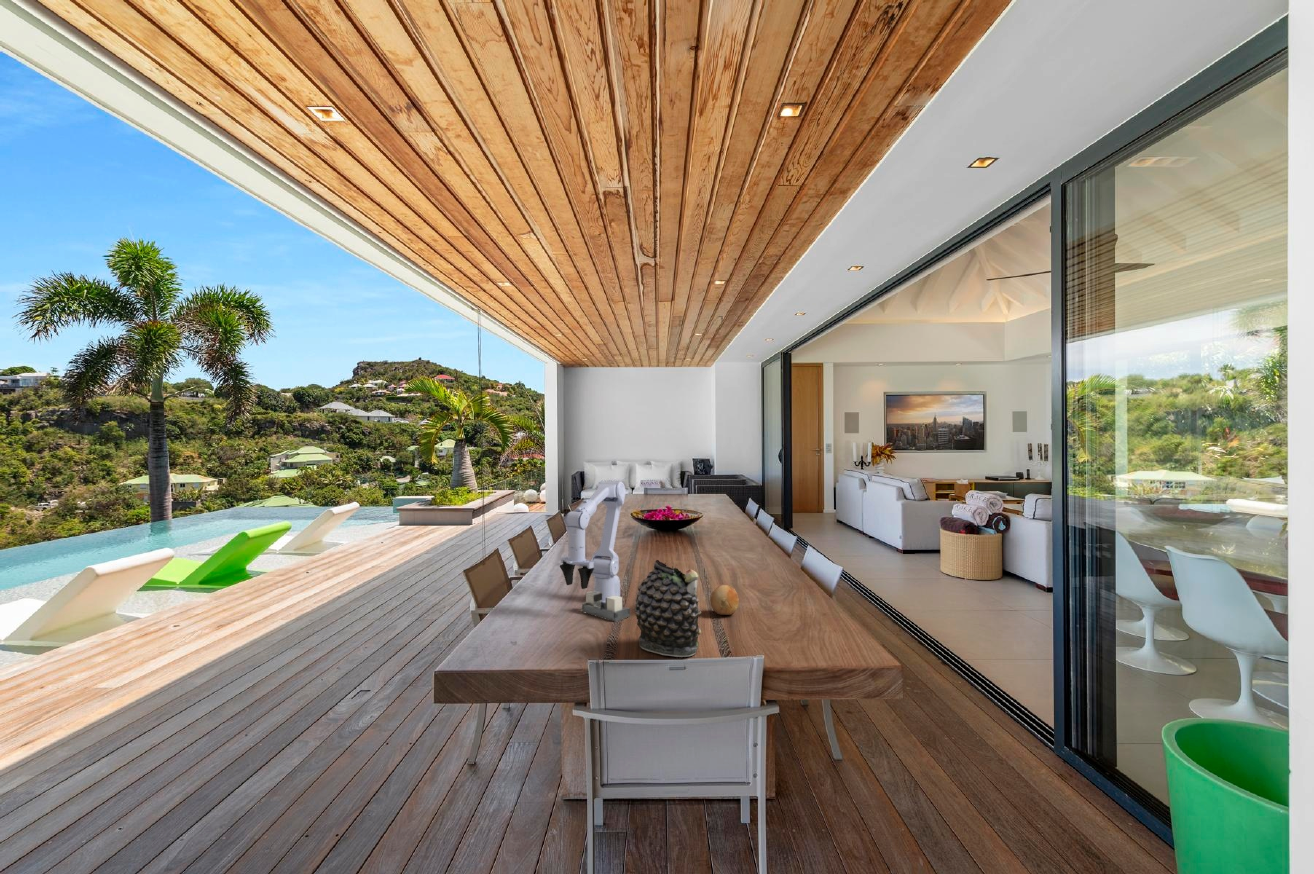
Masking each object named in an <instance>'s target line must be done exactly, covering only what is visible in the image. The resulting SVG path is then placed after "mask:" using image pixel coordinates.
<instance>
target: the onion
mask: <svg viewBox="0 0 1314 874" xmlns="http://www.w3.org/2000/svg"><path fill="white" fill-rule="evenodd" d="M709 601H710V602H709V603H710V607H711V608H712V610H713V611H714V612H715V613H716V614H718V615H719V614H720V616H721V615H722V616H731V615H732V614H734V613H736V612H737V610H738V608H739V605H740V598H739V594H738V592H737V591H736V589H735V588H734V587H732V586H731V585H727V584H721V585H718V586H717V587H716V588H715V589H713V591H712V592H711V596H710V600H709Z"/></svg>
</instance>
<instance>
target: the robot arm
mask: <svg viewBox="0 0 1314 874" xmlns="http://www.w3.org/2000/svg"><path fill="white" fill-rule="evenodd" d="M626 493H627V489H626V486H625V484H624V482H623V481H603V480H599V481H598V483H597V484H596V485H595V491H594V492H593V493H592V495H591V496H590V498H588V499H587V498H586V499H585V498H584V499H583V500H582V502H581V503H580V504H579V505H578V506H577V507H576V508H575V509H574V510H573V511H572V510H571V511H569V512H568V513H567V514H566V515H565V517H564V518H565V519H564V525H565V526H566V527H565V528H566V533H567V534H568V540H567V541H568V542H567V544H568V549H567V552H568V556H561V557H560V563H561V564H560V565H559V568H560V570H561V571H562V574H563V577H564V580H565V584H566V586H571V585H573V583H574V582H573V580H574V572H575V571H574V570H575V566H578V567H579V568H577V571H578V573H579V577H580V588H581V589H582V590H586V589H587V588H588V586H589V581H590V579H591V577H594V578H593V579H594V589H593V590H595V591H599V592H601V593H602V600H601V601H602V602H606V598H608V597H611V596H614V595H615V596H619V597H621V581H620V577H619V576H618V575H617V574H618V573H619V569H620V563H619V562H620V561H619V560H620V557H619V555H618V554H617V553H616V552H615V551H614V550H615V549H614V548H615V543H616V538H617V532H618V531H617V530H618V525H619V520H620V515H621V508H622V506H623V505H625V504H624V503H625V500H626V499H625V498H626ZM600 503H602V504H603V505H605V506H606V513H605V517H604V523H603V528H602V534H601V538H600V539H601V540H600V545H599V548H598V549H597V550H596V551H594V552H592V556H591V559H590V560H589V559H587V558H586V528H588V525H589V522H590V520H591V517H593V515H594V514H595V513H596V511H597V509H598V507H597V506H598V505H599V504H600Z"/></svg>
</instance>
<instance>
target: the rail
mask: <svg viewBox="0 0 1314 874" xmlns="http://www.w3.org/2000/svg"><path fill="white" fill-rule="evenodd" d="M585 598H586V599H585V600H586V601H585V602H583V603H582V604H581V605H582V606H581V608H582V610H581V613H583V612H586V613H588V614H587V615H590V614H591V616H593V615H596V616H595V617H597V616H598V618H600V617H603V618H602V619H604V618H606V619H605V620H608V621H611V620H612V621H611V622H615V623H616V622H619V621H621V620H625V619H627V617H628V618H631V608H630V607H624V606H622V610H619V611H616V612H613V611H609V610H607V605H606V602H602V601H601V600H602V593H601V592H599V591H595V590H594V589H593V590H590V591H586V592H585ZM586 613H585V614H586Z"/></svg>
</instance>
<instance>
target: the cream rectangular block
mask: <svg viewBox="0 0 1314 874" xmlns="http://www.w3.org/2000/svg"><path fill="white" fill-rule="evenodd" d="M606 605H607V610H609V611H613V612H616V611H619V610H622V607H623V597H622V596H620V597H619V596H615V595H614V596H611V597H608V598H606Z"/></svg>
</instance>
